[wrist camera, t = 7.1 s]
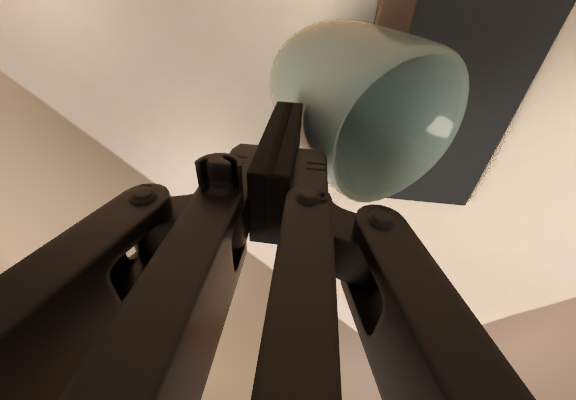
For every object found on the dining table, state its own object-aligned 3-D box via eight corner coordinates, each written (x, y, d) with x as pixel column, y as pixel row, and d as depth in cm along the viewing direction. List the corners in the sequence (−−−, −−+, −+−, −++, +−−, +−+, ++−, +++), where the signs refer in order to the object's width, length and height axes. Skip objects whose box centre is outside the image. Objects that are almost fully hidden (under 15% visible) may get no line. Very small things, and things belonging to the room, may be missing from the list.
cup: (359, 99, 23) (457, 160, 16) (275, 142, 23) (342, 225, 16) (347, -13, 18) (489, 9, 11) (236, 40, 17) (312, 100, 10)
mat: (352, 191, 28) (352, 194, 27) (430, -162, 14) (433, -166, 14) (463, 202, 27) (465, 205, 27) (655, -158, 14) (664, -162, 13)
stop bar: (347, 164, 26) (348, 174, 25) (394, -79, 16) (400, -85, 15) (369, 166, 26) (371, 177, 24) (430, -78, 16) (440, -84, 15)
